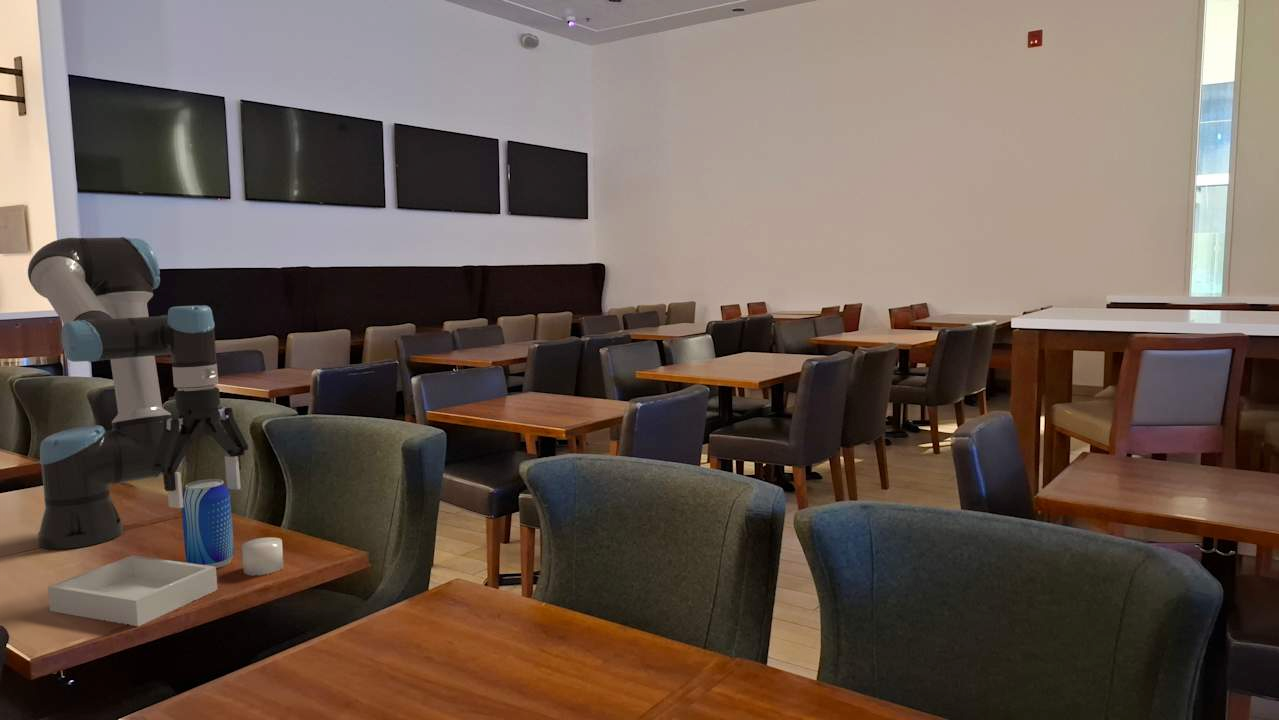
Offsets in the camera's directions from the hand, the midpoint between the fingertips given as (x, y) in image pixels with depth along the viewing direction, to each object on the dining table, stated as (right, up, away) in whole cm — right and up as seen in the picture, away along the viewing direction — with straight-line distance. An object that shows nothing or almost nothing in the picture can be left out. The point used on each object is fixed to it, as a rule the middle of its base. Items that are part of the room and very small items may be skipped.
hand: (206, 497), depth 166 cm
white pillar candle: (+12, -13, -1) cm, 18 cm away
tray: (-4, -15, -16) cm, 22 cm away
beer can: (0, -13, +2) cm, 13 cm away
